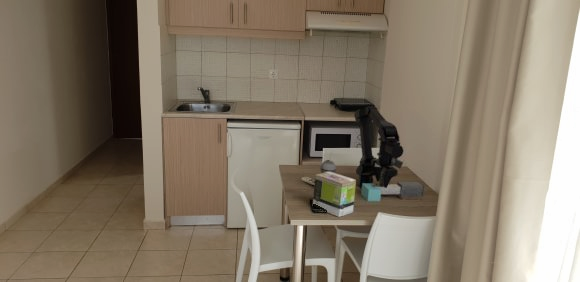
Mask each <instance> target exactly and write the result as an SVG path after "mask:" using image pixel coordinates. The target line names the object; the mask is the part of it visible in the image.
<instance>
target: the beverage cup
mask: <svg viewBox="0 0 580 282" xmlns="http://www.w3.org/2000/svg"><path fill="white" fill-rule="evenodd" d="M332 156H333V151H331V152H330V157H329V159H327V160H324V161H323V162H321V166H320V173H325V172H329V171H330V172H333V173H336V170H337V168H336V164H335V162H334V161H332Z"/></svg>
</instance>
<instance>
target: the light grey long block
mask: <svg viewBox="0 0 580 282" xmlns="http://www.w3.org/2000/svg"><path fill="white" fill-rule="evenodd" d="M372 186H373V187H374V188H380V189H381V195H397V194H401V188H402V186H401V185H399V184H397V183H394V184H392V183H391V184H390V183H389V184H388V186H387V188H384V184H383V179H382V175H381V176H380V181H379V183H376V184H375V183H374V184H372Z"/></svg>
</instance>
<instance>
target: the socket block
mask: <svg viewBox="0 0 580 282" xmlns="http://www.w3.org/2000/svg"><path fill="white" fill-rule="evenodd" d="M372 184H375V183H374V182H373V183H362V188H361V193H360V194H361V196H362V197H363V199H365V200H366V201H367V202H381V195H382V194H381V189H380V188H374V187H373V186H372Z"/></svg>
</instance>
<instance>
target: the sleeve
mask: <svg viewBox="0 0 580 282" xmlns="http://www.w3.org/2000/svg"><path fill="white" fill-rule="evenodd" d="M396 184H399V185H401V186H402V188H401V194H396V197H397V198H399V199H400V200H404V201H406V200H407V201H410V200H413V201H414V200H417V201H418V200H419V201H420V200H422V198H423V197H424V191H425V185H424V184H422V183H421V182H420V181H397V183H396Z"/></svg>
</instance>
